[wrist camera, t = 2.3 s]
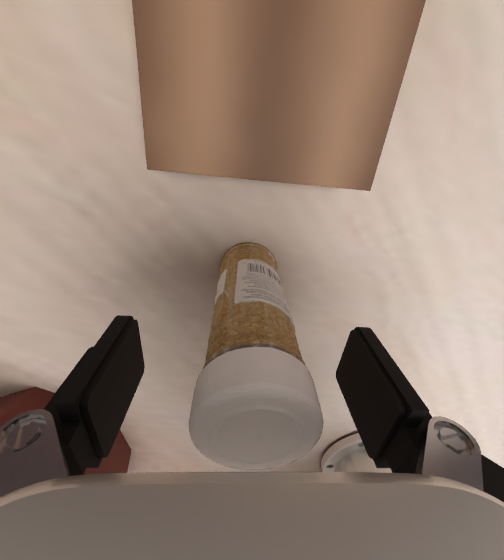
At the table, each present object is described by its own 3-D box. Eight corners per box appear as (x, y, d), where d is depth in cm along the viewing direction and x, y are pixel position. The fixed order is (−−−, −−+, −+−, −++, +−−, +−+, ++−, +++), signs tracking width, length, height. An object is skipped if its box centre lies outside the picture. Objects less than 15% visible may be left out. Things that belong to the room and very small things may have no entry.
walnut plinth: (409, -85, 12) (480, -186, 8) (344, 183, 17) (370, 190, 14) (152, -130, 11) (108, -263, 8) (168, 165, 17) (147, 169, 13)
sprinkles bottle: (208, 267, 20) (155, 439, 8) (250, 228, 19) (262, 366, 7) (248, 302, 22) (253, 489, 10) (289, 269, 20) (354, 438, 8)
